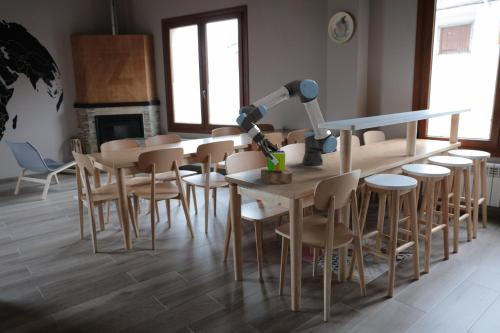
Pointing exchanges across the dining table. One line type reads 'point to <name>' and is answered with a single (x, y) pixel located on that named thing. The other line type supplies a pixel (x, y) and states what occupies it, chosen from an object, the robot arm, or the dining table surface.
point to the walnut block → (276, 176)
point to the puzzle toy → (280, 157)
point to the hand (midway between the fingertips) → (280, 161)
